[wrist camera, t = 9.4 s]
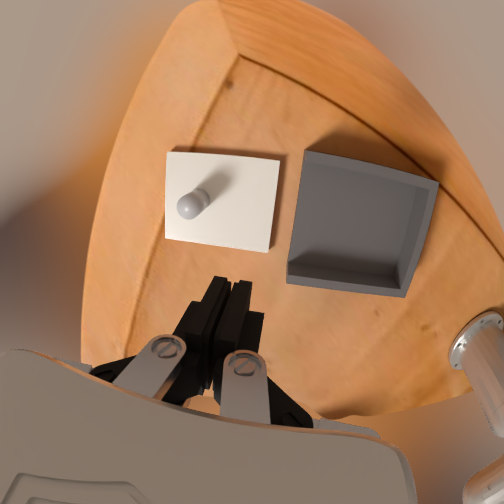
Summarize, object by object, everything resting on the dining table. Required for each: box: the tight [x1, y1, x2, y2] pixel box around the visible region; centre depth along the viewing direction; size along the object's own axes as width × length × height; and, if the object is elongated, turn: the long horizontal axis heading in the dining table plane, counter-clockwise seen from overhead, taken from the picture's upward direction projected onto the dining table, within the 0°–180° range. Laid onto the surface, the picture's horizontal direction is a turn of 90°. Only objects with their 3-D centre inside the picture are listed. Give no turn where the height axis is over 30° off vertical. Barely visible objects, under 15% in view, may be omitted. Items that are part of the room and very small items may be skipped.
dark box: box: [286, 150, 439, 298], centre depth 26 cm, size 14×13×4 cm
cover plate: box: [165, 151, 280, 253], centre depth 27 cm, size 12×10×5 cm
